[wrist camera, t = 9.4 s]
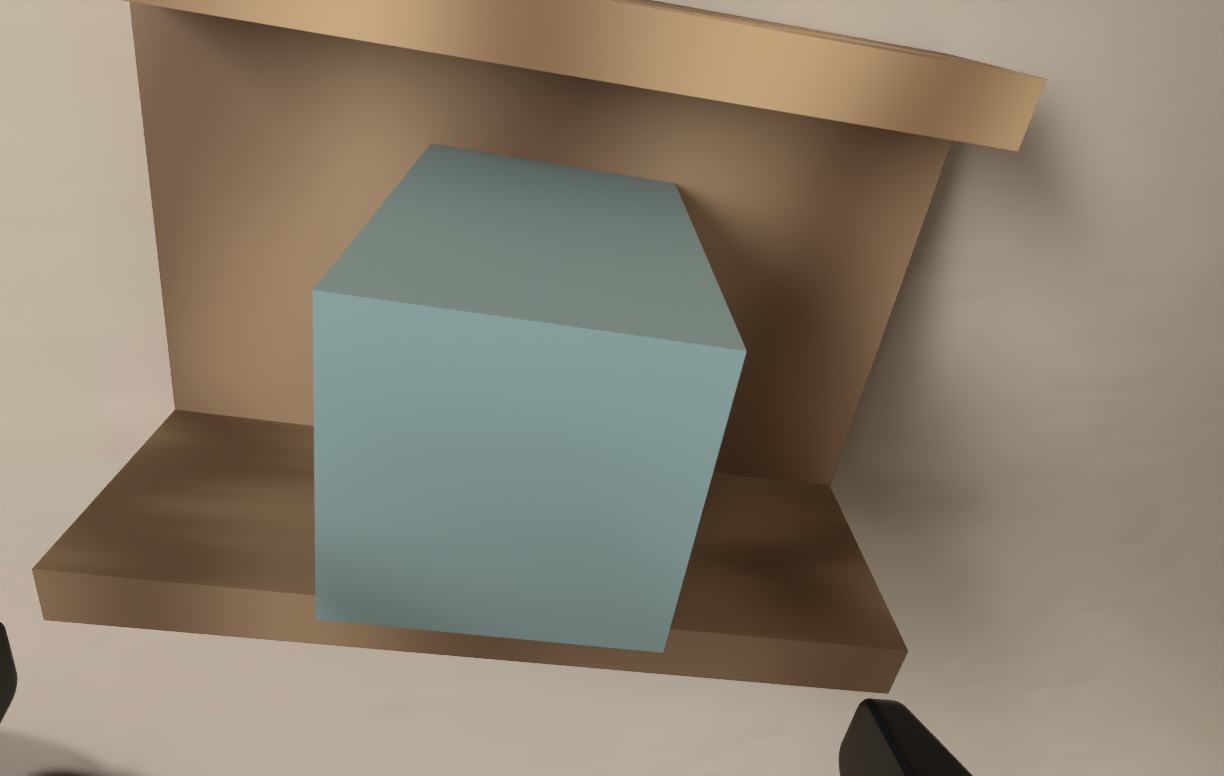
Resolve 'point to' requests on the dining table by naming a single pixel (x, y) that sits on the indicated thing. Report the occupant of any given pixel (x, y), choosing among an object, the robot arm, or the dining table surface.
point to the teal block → (517, 404)
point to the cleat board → (550, 132)
